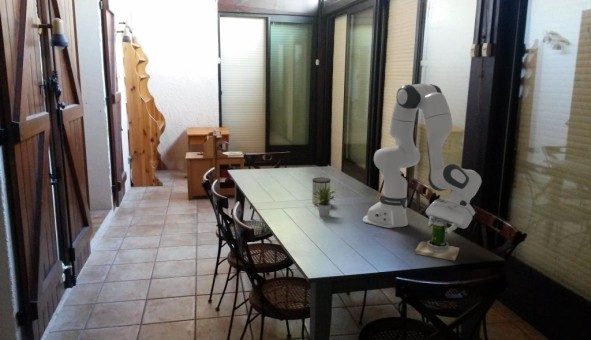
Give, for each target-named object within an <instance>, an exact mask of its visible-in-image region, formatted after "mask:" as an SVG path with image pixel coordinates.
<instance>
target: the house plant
mask: <svg viewBox="0 0 591 340" xmlns="http://www.w3.org/2000/svg"><path fill="white" fill-rule="evenodd" d="M318 187H319V186H318ZM331 188H332V186H330V188H329V186H328V188H327V190H326V193H325V189H324V186H323V190H322V189H321V188H320V187H319V190H320V191H319V192H320V194H319V192H318V191H317V190H316V191H317V193H318V194H319V198H320V199H319V198H318V197H316V196H314V197H315V198H318V199H319V200H320V203H318V205H317V206H318V207H317V208H318V215H319V216H320V217H322V218H323V217H324V218H325V217H329V216H330V213H331V208H332V207H331V206H332V203H331V200H332V201H333V200H334V201H335V197H336V196H337V195H333V196H332V194H335V193H337V191H338V189H337V188H336V189H334V190H332V191H331ZM322 191H323V192H322ZM329 192H330V193H329ZM328 193H329V194H328ZM329 195H330V196H329ZM329 197H330V198H329ZM328 198H329V199H328ZM329 200H330V203H328V202H329Z"/></svg>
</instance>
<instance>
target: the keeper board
mask: <svg viewBox="0 0 591 340" xmlns="http://www.w3.org/2000/svg"><path fill="white" fill-rule="evenodd" d="M459 252H460V247H458V246H452V245H450V243H448V242H447V241H445V246H434V245H432V239H429V240H427V241H423V240H422V241H421V242H419V244H418V245H417V247H416V248H415V250H414V253H415V254H417V255H422V256H427V257H432V258H437V259H444V260H450V261H456V259H457V257H458V255H459Z"/></svg>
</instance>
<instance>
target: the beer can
mask: <svg viewBox="0 0 591 340" xmlns="http://www.w3.org/2000/svg"><path fill="white" fill-rule="evenodd" d="M446 228H447V223H446V222H445V221H443V220H436V219H435V220H434V221H433V226H432V233H431V234H432V236H431V240H432V245H434V246H445V242H446V238H447V237H446V235H447V233H446V232H445V230H446Z"/></svg>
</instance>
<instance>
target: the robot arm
mask: <svg viewBox="0 0 591 340" xmlns="http://www.w3.org/2000/svg"><path fill="white" fill-rule="evenodd" d="M392 109H393V110H392V113H391V118H390V125H389V135H390V136H391V137H392V138H393V139H394V141H395V146H386V147H382V148H380V149H377V150H376V151H375V152H374V155H373V162H374V165H375V167H377V169H378V170H379V171H380V172H381V174H382V176H383V192H382V193H381V194H380V195H379V198H378V200H379V201H378V202H377V203H375V204H373V205H372V206H370V208H369V209H368V210H367V214H366V215H365V216H363V218H362V222H363V223H364V224H365V223H366V224H370V225H372V226H378V227H383V228H388V229H393V228H402V227H406V226H408V225H409V222H408V217H407V206H408V196H407V192H408V181H407V179H406V178H405V177H404V176H402V174H401V169H405V168H406V169H407V168H410V167H413V166H416V165H417V164H419V162H420V159H421V153H420V150H419V149H418V147H417V146H416V145H415V142H414V130H415V129H414V128H415V124H416V123H415V122H416V118H417V117H416V115H417V111H418V110H421V111H422V113H423V117H424V122H425V123H424V124H425V129H426V146H427V154H428V155H427V156H428V163H429V172H428V179H427V180H428V184H429V186H430V187H431V188H432V189H433V190H434V191H437V192H443V191H446V190H448V189H449V190H450V193H449V194H448V195H447V197H446V198H445V199H441V198H437V199H434V201H433V202H432V203H431V204H430V205H428V206H427V208H426V210H425V215H426V216H428V218H429V221H428V223H427V227H429V228H433V223H434V220H443V221H445V222H446V224H448V225H451V226H450V227H446V230H445V232H446V234H448V235H450V234H451V233H452V232H453V231H454V230H455V231H456V229H457V228H460V229H463V230H464V229H467V228H468V227H469V225H470V224H471V222H472V221H473V216H475V214H476V211H475V209H474V208H473V207H472V205H471V204H470V203H471V202H470V201H471V200H472V198H474V197H475V195H477V193H478V191H479V188H480V187H481V185H482V177H481V175H480V174H479V173H478V172H476V171H475V170H473V169H465V168H462V167H460V166H459V165H458V164H454V163H450V164H447V165H445V162H444V152H443V151H444V150H443V147H444V144H445V141H446V140H447V138H448V137H449V136H450V134H451V132H452V130H453V119H452V114H451V110H450V107H449V104H448V101H447V99H446V97H445V95H444V94H443V92H442V90H441V88H440V87H439V86H438V85H435V84H430V83H429V84H426V83H417V84H416V83H415V84H406V85H402V86H401V87H399V88H398V89H397V91H396V100H395V102H394V105H393V108H392Z"/></svg>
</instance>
